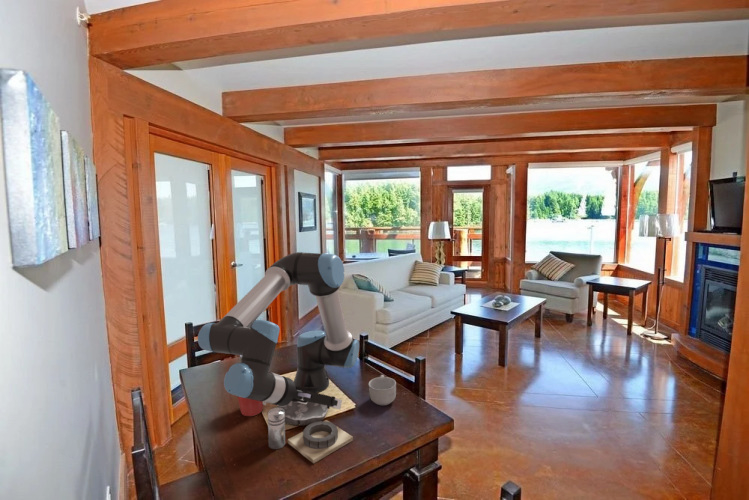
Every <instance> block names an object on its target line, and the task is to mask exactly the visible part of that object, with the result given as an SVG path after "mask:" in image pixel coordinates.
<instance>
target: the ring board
mask: <svg viewBox="0 0 749 500" xmlns="http://www.w3.org/2000/svg"><path fill="white" fill-rule="evenodd" d="M352 441H354V436H352V435H351V434H349V433H348V432H347V431H344V430H343V429H342V428H340V427H339V426H337V425H335V423H332V422H330V421H329V420H327V419H326V420H322V421H320V422H315V423H312V424H308V425H305V428H304V429H303V431H301V432H299V433H298V434H296V435H294V436H292V437H289V438H288V439H287V444H288V445H289V446H291V447H292V448H293V449H295V450H296V451H297V452H298V453H300V454H301V455H302V456H303V457H304V458H306V459H307V460H308V461H309V462H311V463H312V464H316V463H318V462H319V461H321V460H322V459H324V458H325V457H327V456H329V455H330V454H332V453H334V452H336V451H337V450H339V449H341V448H343V447H344V446H346V445H348V444H350V443H351V442H352Z"/></svg>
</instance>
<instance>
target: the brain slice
mask: <svg viewBox="0 0 749 500" xmlns="http://www.w3.org/2000/svg"><path fill="white" fill-rule="evenodd" d="M275 408H283V409H284V410H285V424H287V423H288V425H293V426H299V425H300V426H308V425H310V424H312V423H315V422H320V421H322V422H323V421H324V419H325V417H326V416H327V414H328V410H329V409H328V408H327V406H326V405H322V404H317V403H312V402H307V404H303V403H299V402H293V401H291V402H290V403H289V404H287V405H285V406H278V405H276V407H275Z"/></svg>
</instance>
